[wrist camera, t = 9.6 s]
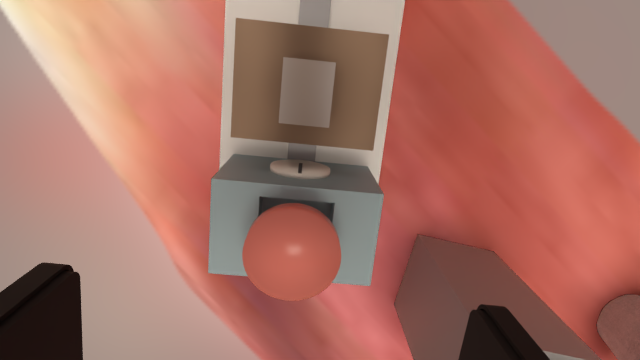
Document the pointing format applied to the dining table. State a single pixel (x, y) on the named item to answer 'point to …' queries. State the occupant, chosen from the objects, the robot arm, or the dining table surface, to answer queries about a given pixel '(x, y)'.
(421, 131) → the dining table surface
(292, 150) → the rail bed
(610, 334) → the house plant
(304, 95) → the carriage
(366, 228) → the end cabinet
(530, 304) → the perfume bottle
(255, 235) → the button
